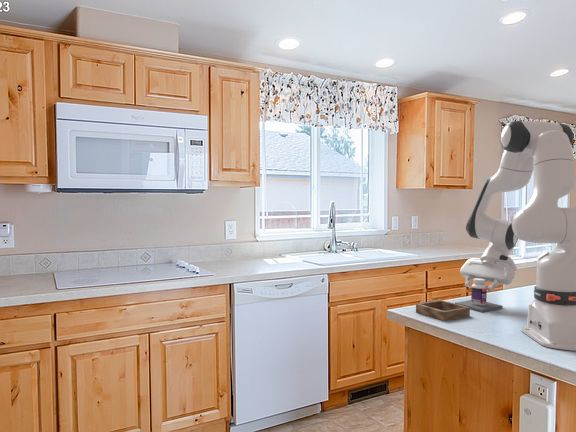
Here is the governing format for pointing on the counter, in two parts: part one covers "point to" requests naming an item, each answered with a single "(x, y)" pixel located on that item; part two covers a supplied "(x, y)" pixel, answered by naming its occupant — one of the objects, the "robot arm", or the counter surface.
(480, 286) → the pill bottle
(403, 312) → the counter surface
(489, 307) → the rubber mat
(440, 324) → the counter surface
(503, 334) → the counter surface
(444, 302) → the wooden tray
